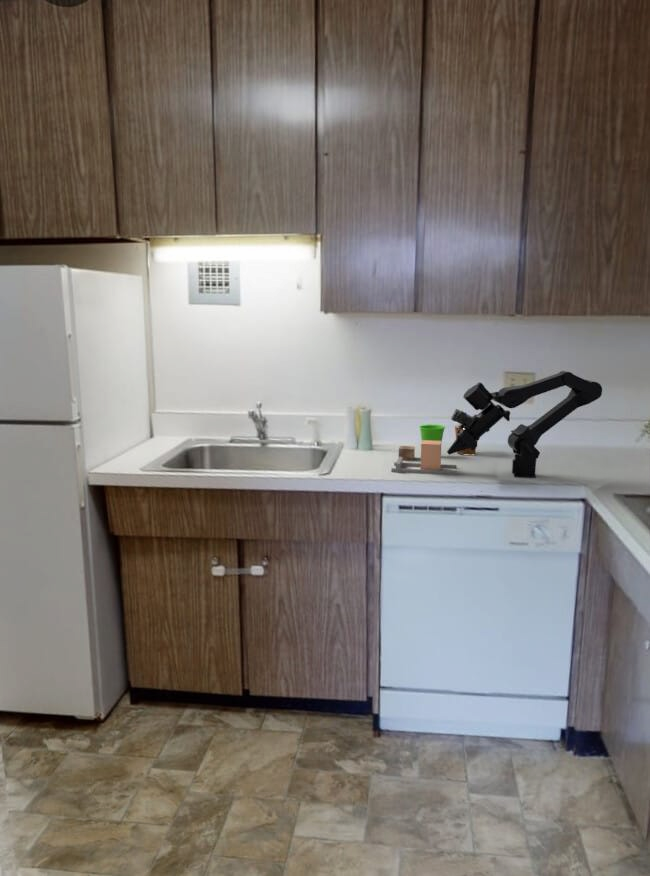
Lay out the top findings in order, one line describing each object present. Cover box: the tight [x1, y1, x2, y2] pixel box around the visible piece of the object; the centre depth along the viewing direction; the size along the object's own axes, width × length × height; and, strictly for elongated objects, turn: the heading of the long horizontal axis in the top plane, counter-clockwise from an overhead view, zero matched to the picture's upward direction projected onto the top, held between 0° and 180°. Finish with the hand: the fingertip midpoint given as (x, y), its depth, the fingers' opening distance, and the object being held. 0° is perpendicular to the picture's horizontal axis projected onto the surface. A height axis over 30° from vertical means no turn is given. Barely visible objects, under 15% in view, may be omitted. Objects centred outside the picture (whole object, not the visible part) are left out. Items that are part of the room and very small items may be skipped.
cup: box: [418, 424, 446, 444], centre depth 234 cm, size 9×9×11 cm
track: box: [390, 456, 458, 476], centre depth 213 cm, size 20×10×4 cm, turn 78°
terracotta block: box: [420, 439, 442, 470], centre depth 212 cm, size 6×6×9 cm
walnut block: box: [398, 445, 416, 462], centre depth 229 cm, size 5×5×5 cm
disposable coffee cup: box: [453, 421, 477, 455], centre depth 240 cm, size 10×10×12 cm
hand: (448, 453), depth 210 cm, fingers closed
